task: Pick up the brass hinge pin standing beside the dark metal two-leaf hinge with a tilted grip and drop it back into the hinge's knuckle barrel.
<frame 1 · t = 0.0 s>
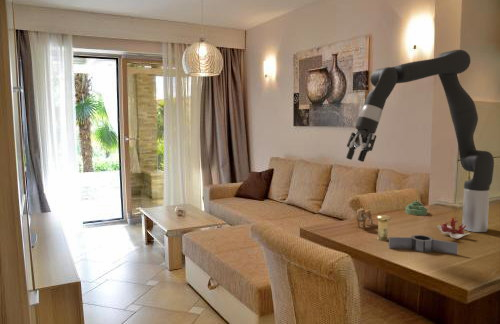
hand: (354, 159, 148), 31 cm above the table, tool tilted 20°, fingers open, 8 cm apart
hinge pin: (382, 239, 154), on the table
decorative artifact: (416, 213, 196), on the table
figurine: (452, 237, 156), on the table
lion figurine: (364, 227, 172), on the table
hinge: (421, 248, 142), on the table
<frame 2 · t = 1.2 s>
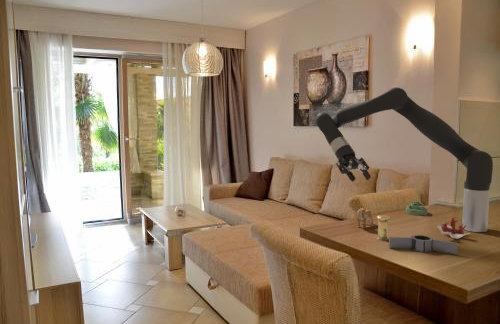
hand: (361, 179, 162), 22 cm above the table, tool tilted 45°, fingers open, 8 cm apart
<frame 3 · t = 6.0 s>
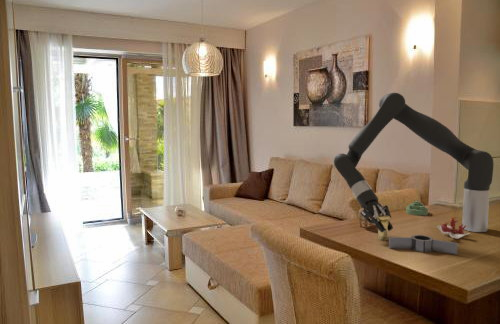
hand: (387, 230, 152), 4 cm above the table, tool tilted 45°, fingers closed on hinge pin, 3 cm apart
hinge pin: (382, 239, 154), on the table, touching gripper
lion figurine: (366, 226, 174), on the table
everything else where it was.
when the fingers open (6 cm above the table, at t = 11.7 s): hinge pin drops 2 cm, resting in hinge.
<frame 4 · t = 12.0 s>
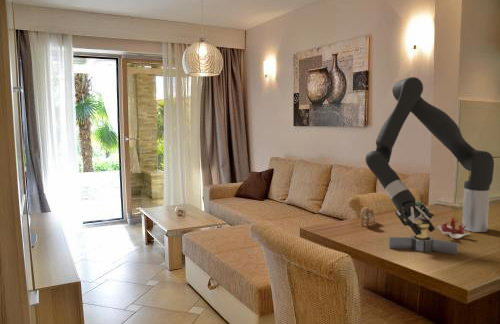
hand: (426, 232, 140), 6 cm above the table, tool tilted 45°, fingers open, 7 cm apart
hinge pin: (421, 248, 143), resting in hinge
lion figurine: (367, 225, 175), on the table
everything else where it was.
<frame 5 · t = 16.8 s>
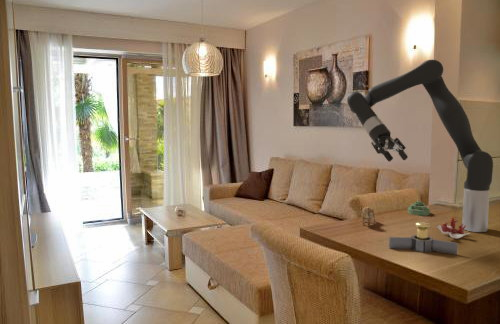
hand: (398, 159, 155), 31 cm above the table, tool tilted 45°, fingers open, 8 cm apart
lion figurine: (368, 224, 176), on the table
at the end: hinge pin 0.5 cm from the hinge (horizontally); hinge pin resting in hinge; hinge pin tilted 2° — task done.
